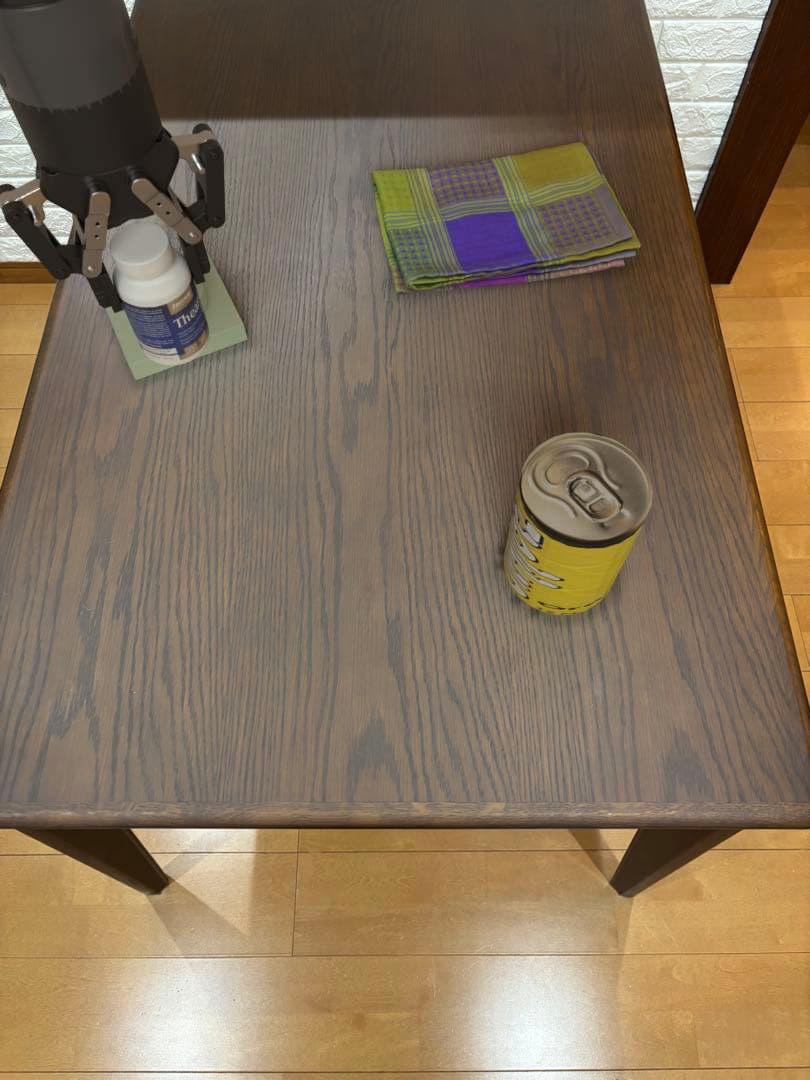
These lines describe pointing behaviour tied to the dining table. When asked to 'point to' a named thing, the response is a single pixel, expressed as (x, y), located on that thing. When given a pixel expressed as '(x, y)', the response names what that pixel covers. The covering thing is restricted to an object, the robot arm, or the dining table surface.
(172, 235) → the dining table surface
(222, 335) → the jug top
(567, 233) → the dish towel
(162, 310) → the pill bottle
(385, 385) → the dining table surface
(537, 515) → the beverage can
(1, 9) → the robot arm
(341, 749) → the dining table surface
